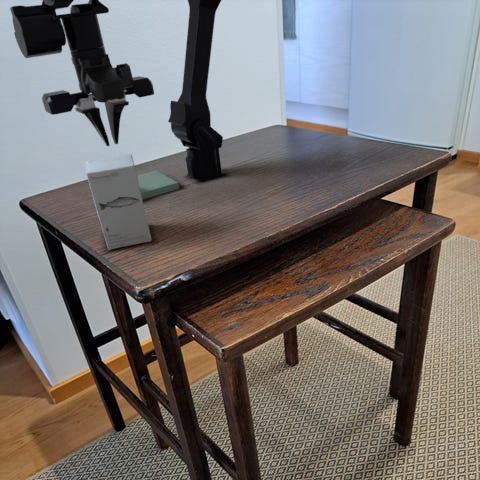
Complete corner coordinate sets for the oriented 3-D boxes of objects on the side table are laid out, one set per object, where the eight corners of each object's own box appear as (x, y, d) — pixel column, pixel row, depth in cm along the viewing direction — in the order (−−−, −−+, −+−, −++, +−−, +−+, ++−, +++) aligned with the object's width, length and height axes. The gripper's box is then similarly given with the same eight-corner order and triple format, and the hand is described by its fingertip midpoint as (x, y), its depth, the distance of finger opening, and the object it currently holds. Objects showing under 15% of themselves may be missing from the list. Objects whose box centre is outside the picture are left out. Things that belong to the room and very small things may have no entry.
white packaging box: (107, 251, 72) (83, 173, 65) (106, 234, 78) (84, 160, 71) (153, 242, 73) (134, 164, 66) (148, 225, 79) (131, 152, 72)
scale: (157, 176, 102) (154, 163, 101) (181, 189, 93) (178, 175, 91) (98, 192, 97) (94, 179, 95) (117, 208, 88) (113, 194, 86)
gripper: (40, 59, 66) (74, 165, 75) (156, 41, 73) (174, 140, 82) (27, 57, 74) (59, 153, 83) (133, 41, 81) (151, 131, 90)
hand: (112, 144), depth 85 cm, fingers closed
